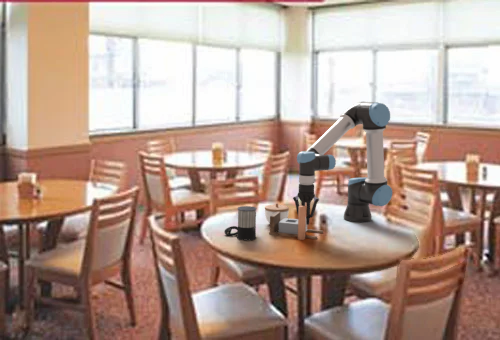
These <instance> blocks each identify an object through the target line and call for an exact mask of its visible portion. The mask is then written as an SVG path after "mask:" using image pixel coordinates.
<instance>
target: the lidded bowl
mask: <svg viewBox="0 0 500 340" xmlns="http://www.w3.org/2000/svg"><path fill="white" fill-rule="evenodd" d="M289 211H290V206H287V205H284V204H283V205H282V204H279V203H278V202H276V203H275V204H269V205H265V206H264V214H265V215H264V216H265V219H266V221H267V222H268V223H269V224H270V216H271V215H272V214H274V213H275V212H280V221H281V220H283V219H284V218H288V217H289V213H290V212H289Z"/></svg>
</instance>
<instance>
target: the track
mask: <svg viewBox="0 0 500 340" xmlns="http://www.w3.org/2000/svg"><path fill="white" fill-rule="evenodd" d="M279 222H280V212H275V213H274V214H272V215H271V216H270V223H269V232H268V234H269V235H274V236H284V237H291V238H292V237H293V238H298V234H289V233H279ZM306 232H307V233H315V234H316V233H317V234H324V230H320V229H319V230H318V229H308V228H307V231H306ZM306 232H305V233H306ZM305 239H312V240H318V236H317V235H316V236H315V235H308V234H305Z"/></svg>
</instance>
